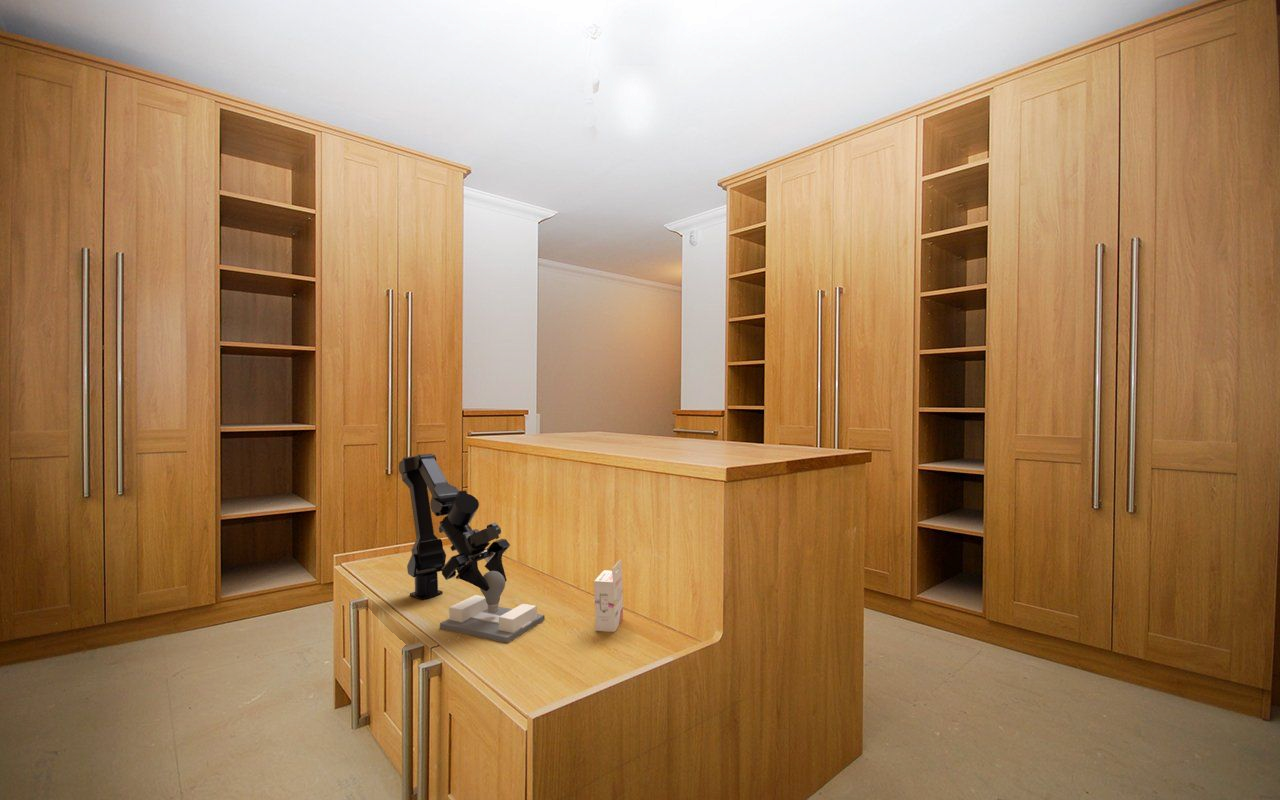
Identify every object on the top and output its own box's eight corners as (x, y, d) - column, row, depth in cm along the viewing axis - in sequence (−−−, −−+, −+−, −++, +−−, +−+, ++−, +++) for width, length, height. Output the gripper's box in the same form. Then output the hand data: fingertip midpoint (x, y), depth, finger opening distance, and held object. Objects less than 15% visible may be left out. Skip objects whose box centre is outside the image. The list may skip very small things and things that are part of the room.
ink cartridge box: (603, 617, 136) (603, 557, 136) (623, 618, 135) (622, 558, 135) (594, 631, 128) (593, 567, 128) (614, 632, 127) (614, 568, 127)
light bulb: (483, 608, 136) (482, 568, 135) (507, 607, 136) (506, 566, 136) (477, 618, 130) (476, 576, 129) (503, 617, 130) (502, 575, 130)
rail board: (440, 628, 130) (439, 610, 130) (480, 607, 143) (480, 591, 143) (507, 643, 122) (507, 624, 122) (544, 619, 135) (544, 602, 135)
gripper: (450, 522, 126) (488, 577, 121) (503, 507, 143) (539, 554, 138) (425, 552, 129) (461, 607, 125) (480, 534, 146) (514, 581, 141)
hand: (496, 585), depth 132 cm, fingers closed on light bulb, 6 cm apart
